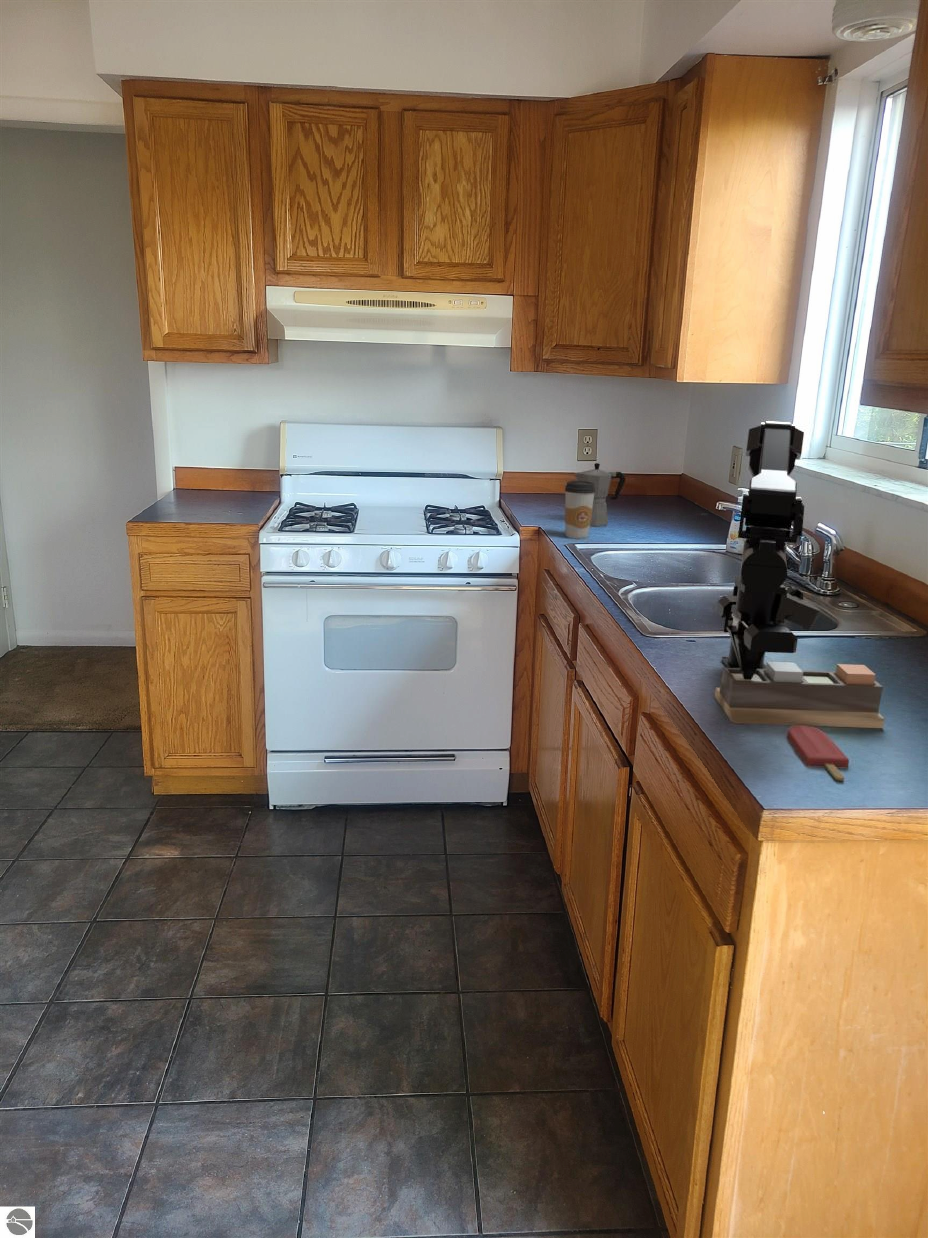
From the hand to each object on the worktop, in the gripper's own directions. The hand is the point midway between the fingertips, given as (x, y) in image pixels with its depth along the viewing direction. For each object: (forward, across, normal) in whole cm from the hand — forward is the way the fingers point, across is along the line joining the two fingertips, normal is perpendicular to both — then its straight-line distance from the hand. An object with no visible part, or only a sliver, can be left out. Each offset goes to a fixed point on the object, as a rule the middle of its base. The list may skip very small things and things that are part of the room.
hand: (747, 678), depth 132 cm
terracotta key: (+1, 0, -16) cm, 16 cm away
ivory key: (+3, 0, 0) cm, 3 cm away
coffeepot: (+6, +142, +3) cm, 142 cm away
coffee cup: (+6, +122, +11) cm, 123 cm away
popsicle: (+6, -15, -6) cm, 17 cm away
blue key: (+1, 0, -5) cm, 5 cm away
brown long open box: (+5, 0, -8) cm, 9 cm away
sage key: (+3, 0, -10) cm, 11 cm away
